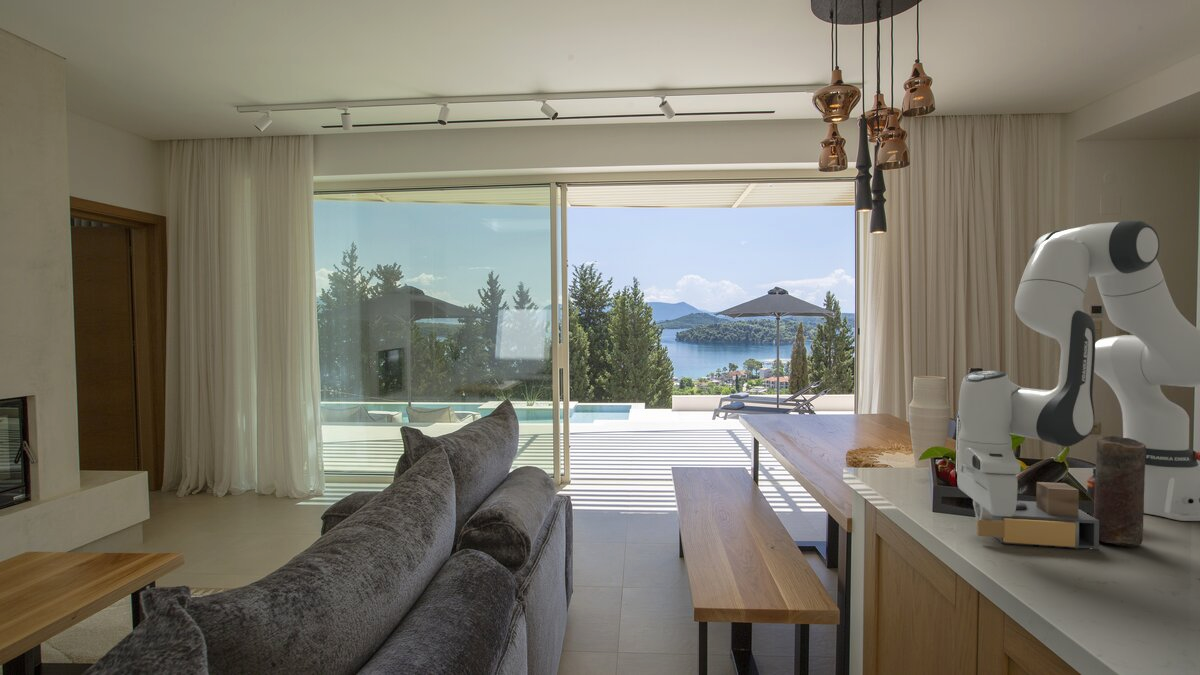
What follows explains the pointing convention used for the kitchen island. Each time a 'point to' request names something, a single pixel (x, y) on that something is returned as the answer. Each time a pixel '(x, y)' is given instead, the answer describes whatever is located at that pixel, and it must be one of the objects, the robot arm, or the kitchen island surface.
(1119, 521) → the candle
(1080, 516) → the grey box
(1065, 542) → the side door
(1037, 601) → the kitchen island surface
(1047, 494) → the walnut block
